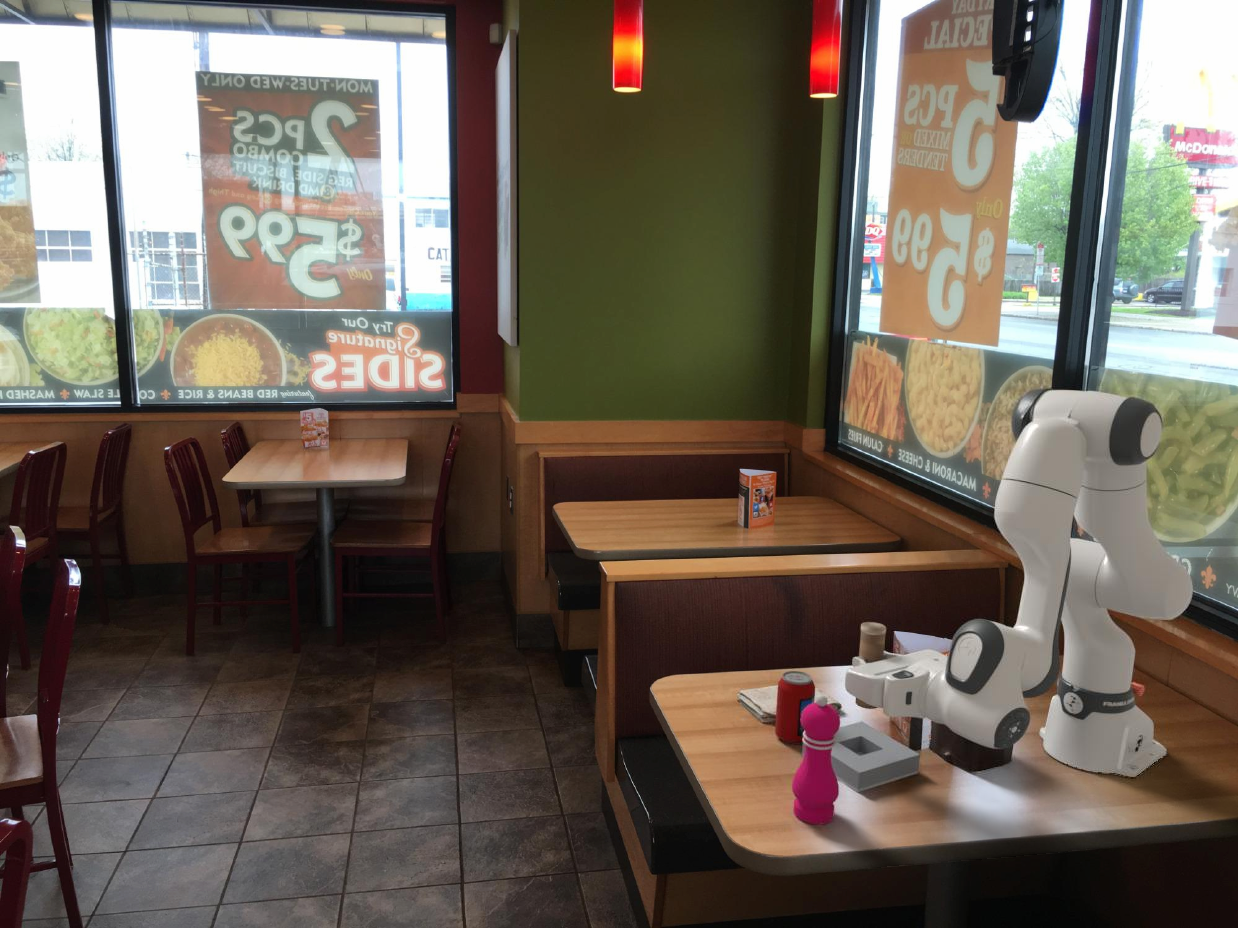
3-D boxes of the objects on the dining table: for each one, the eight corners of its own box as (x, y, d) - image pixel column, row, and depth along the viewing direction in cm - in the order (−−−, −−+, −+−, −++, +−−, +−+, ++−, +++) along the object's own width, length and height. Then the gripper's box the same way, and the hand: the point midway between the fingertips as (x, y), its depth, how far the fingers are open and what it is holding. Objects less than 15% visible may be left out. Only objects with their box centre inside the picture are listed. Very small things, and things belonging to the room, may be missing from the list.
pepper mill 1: (842, 826, 148) (852, 705, 144) (797, 826, 147) (805, 705, 143) (829, 801, 155) (837, 685, 151) (785, 801, 154) (793, 685, 150)
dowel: (867, 696, 167) (873, 620, 164) (884, 705, 163) (891, 628, 161) (850, 701, 165) (855, 624, 162) (867, 710, 161) (873, 632, 159)
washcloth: (732, 702, 192) (733, 687, 191) (808, 690, 199) (809, 676, 198) (763, 728, 181) (764, 712, 180) (842, 714, 188) (843, 699, 187)
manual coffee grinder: (923, 748, 174) (932, 654, 170) (968, 737, 178) (978, 646, 175) (990, 789, 160) (1001, 688, 157) (1037, 776, 165) (1049, 678, 161)
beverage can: (811, 748, 172) (816, 686, 170) (773, 743, 174) (777, 681, 171) (811, 731, 179) (816, 671, 177) (775, 727, 180) (779, 667, 178)
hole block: (860, 738, 177) (861, 721, 176) (918, 773, 165) (919, 754, 164) (801, 755, 170) (803, 736, 169) (857, 792, 158) (859, 772, 157)
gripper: (976, 658, 156) (912, 630, 168) (885, 681, 146) (823, 650, 158) (972, 694, 157) (909, 664, 169) (882, 719, 147) (821, 686, 159)
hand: (867, 657), depth 163 cm, fingers closed on dowel, 4 cm apart
